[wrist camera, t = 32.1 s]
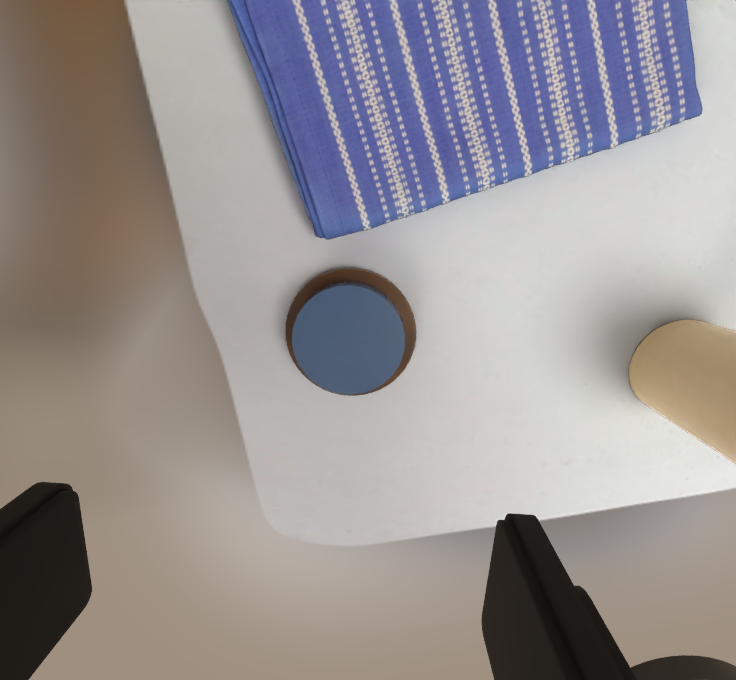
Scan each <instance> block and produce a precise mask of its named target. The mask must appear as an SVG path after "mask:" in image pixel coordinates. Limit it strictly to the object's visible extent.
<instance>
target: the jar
mask: <svg viewBox="0 0 736 680" xmlns="http://www.w3.org/2000/svg"><path fill="white" fill-rule="evenodd" d="M629 379H630V384H631V387H632V389H633V392H634V393H635V395H636V396H637V398H638V399H639V400H640V401H641V402H642V403H644V404H645V405H646V406H648V407H649V408H651V409H652V410H654V411H656V412H657V413H659V414H660V415H662V416H663V417H665V418H666V419H668V420H669V421H671V422H672V423H674V424H675V425H677V426H678V427H680V428H681V429H683V430H684V431H686V432H687V433H689V434H690V435H692V436H694V437H695V438H697V439H698V440H700V441H701V442H703V443H704V444H706V445H707V446H709V447H710V448H712V449H713V450H715V451H716V452H718V453H719V454H721V455H722V456H724V457H725V458H727V459H728V460H730V461H732V462H733V463H735V464H736V331H735V330H732V329H728V328H724V327H721V326H717V325H714V324H710V323H707V322H703V321H699V320H678V321H674V322H671V323H668V324H665V325H663V326H661V327H659V328H657V329H656V330H654V331H653V332H652V333H650V334H649V335H648V336H647V337H646V338H645V339H644V340H643V341H642V342H641V343H640V345H639V346H638V347H637V349H636V351H635V352H634V355H633V357H632V360H631V363H630V368H629Z"/></svg>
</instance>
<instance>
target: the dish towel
mask: <svg viewBox="0 0 736 680" xmlns="http://www.w3.org/2000/svg"><path fill="white" fill-rule="evenodd" d="M228 3H229V6H230V9H231V12H232V15H233V18H234V20H235V23H236V26H237V29H238V32H239V35H240V38H241V40H242V42H243V45H244V47H245V50H246V52H247V55H248V57H249V60H250V62H251V65H252V67H253V70H254V73H255V76H256V78H257V81H258V83H259V86H260V88H261V91H262V94H263V97H264V100H265V103H266V106H267V109H268V112H269V115H270V118H271V121H272V123H273V126H274V129H275V132H276V134H277V137H278V140H279V143H280V145H281V148H282V150H283V153H284V156H285V159H286V161H287V163H288V166H289V169H290V172H291V174H292V176H293V179H294V181H295V183H296V185H297V188H298V191H299V194H300V197H301V199H302V202H303V204H304V207H305V210H306V213H307V215H308V217H309V219H310V220H311V222H312V224H313V227H314V231H315V235H316V236H317V237H320V238H325V239H326V240H327V239H332V238H336V237H340V236H343V235H347V234H351V233H355V232H359V231H365V230H369V229H372V228H374V227H377V226H379V225H382V224H385V223H388V222H391V221H393V220H397V219H401V218H406V217H408V216H410V215H413V214H416V213H419V212H423V211H426V210H428V209H431V208H433V207H435V206H438V205H442V204H447V203H448V202H450V201H453V200H455V199H458V198H461V197H464V196H468V195H470V194H473V193H477V192H481V191H485V190H487V189H489V188H492V187H494V186H497V185H500V184H504V183H507V182H509V181H512V180H515V179H518V178H522V177H528V176H530V175H531V174H534V173H536V172H538V171H541V170H543V169H547V168H550V167H553V166H555V165H560V164H564V163H568V162H571V161H573V160H575V159H578V158H581V157H584V156H588V155H591V154H593V153H596V152H599V151H601V150H605V149H612V148H614V147H616V146H618V145H620V144H622V143H624V142H628V141H631V140H634V139H637V138H639V137H642V136H645V135H649V134H651V133H655V132H659V131H661V130H662V129H664V128H666V127H669V126H672V125H674V124H678V123H681V122H682V121H684V120H688V119H691V118H694V117H697V116H700V115H701V114H702V104H701V100H700V96H699V93H698V90H697V87H696V80H695V64H694V55H693V48H692V41H691V34H690V27H689V19H688V11H687V3H686V0H228Z"/></svg>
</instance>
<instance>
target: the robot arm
mask: <svg viewBox="0 0 736 680" xmlns="http://www.w3.org/2000/svg"><path fill="white" fill-rule="evenodd" d="M91 592H92V586H91V579H90V571H89V565H88V558H87V551H86V544H85V537H84V531H83V524H82V518H81V510H80V504H79V497H78V494H77V493H76V492H74V491H73V489H72V487H71V486H70V485H68V484H63V483H48V482H40V483H36V484H35V485H33V486H31V487H30V488H29V489H27V490H26V491H24V492H23V493H22V494H20V495H19V496H18V497H16V498H15V499H14V500H12V501H11V502H10V503H8V504H7V505H5V506H4V507H3V508H1V509H0V680H28V679H29V678H30V677H31V676H32V674H33V673H34V672H35V670H36V669H37V668H38V667H39V665H40V664H41V663H42V662H43V660H44V659H45V658H46V657H47V655H48V654H49V653H50V651H51V650H52V649H53V648H54V646H55V645H56V644H57V643H58V641H59V640H60V639H61V637H62V636H63V635H64V633H65V632H66V631H67V630H68V629H69V627H70V626H71V625H72V623H73V622H74V621H75V619H76V618H77V617H78V616H79V615H80V613H81V612H82V611H83V609H84V608H85V607H86V605H87V603H88V601H89V599H90V596H91ZM482 631H483V636H484V641H485V644H486V648H487V652H488V656H489V660H490V664H491V668H492V672H493V676H494V680H637V679H636V677H635V675H634V674H633V672H632V670H631V668H630V667H629V665H628V663H627V661H626V660H625V658H624V656H623V654H622V653H621V651H620V649H619V647H618V646H617V644H616V642H615V640H614V639H613V637H612V635H611V633H610V632H609V630H608V628H607V627H606V625H605V623H604V621H603V619H602V618H601V616H600V614H599V613H598V611H597V609H596V607H595V605H594V604H593V602H592V600H591V598H590V597H589V595H588V594H587V592H586V591H585V590H584V589H583V588H581V587H580V586H574V585H573V583H572V582H571V579H570V578H569V576H568V574H567V572H566V570H565V568H564V567H563V565H562V563H561V561H560V559H559V557H558V556H557V554H556V552H555V550H554V548H553V547H552V545H551V543H550V541H549V539H548V537H547V535H546V533H545V532H544V530H543V528H542V526H541V524H540V522H539V521H538V519H537V518H536V516H534V515H524V514H507V515H506V517H505V520H498V522H497V525H496V532H495V538H494V544H493V550H492V556H491V562H490V569H489V576H488V581H487V587H486V593H485V600H484V606H483V612H482Z"/></svg>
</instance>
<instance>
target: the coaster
mask: <svg viewBox="0 0 736 680" xmlns="http://www.w3.org/2000/svg"><path fill="white" fill-rule="evenodd" d="M345 281H347V282H358V283H359V282H361V283H363V284H367V285H369V286H372V287H375V288H376V289H377V290H379V291H381V292H382V293H383V294H385V295H387V297H388V298H389V299H390V300H391V301H392V303H393V304H394V305H396V306H397V310H398V312H399V315H400V317H401V318H402V319H403V328H404V331H405V335H406V338H405V348H404V349H405V351H404V354H403V357H402V360H401V362H400V365H399V367H398V368H397V370H396V371H395V373H394V374H393V375H392V376H391V377H390V378H389V379H388V380H387V381H386V382H385V383H384V384H382V385H381V386H379V387H377V388H375V389H374V390H371V391H368V392H365V393H361V394H353V395H364V394H368V393H372V392H375V391H377V390H380V389H382V388H383V387H385V386H387V385H388V384H390V383H391V382H393V381H394V380H395V379H396V378H397V377H398V376H399V375H400V374H401V373H402V372H403V370H404V369H405V368H406V366H407V364H408V363H409V361H410V359H411V356H412V354H413V350H414V347H415V341H416V326H415V320H414V316H413V313H412V310H411V308H410V305H409V303H408V302H407V300H406V298H405V297H404V295H403V294H402V293H401V291H400V290H399V289H398V288H397V287H396V286H395V285H394V284H393V283H391V282H390V281H389V280H387V279H386V278H384V277H382V276H381V275H379V274H376V273H374V272H371V271H368V270H364V269H357V268H343V269H336V270H333V271H329V272H326V273H324V274H322V275H320V276H318V277H316V278H315V279H313V280H312V281H311V282H309V283H308V284H307V285H306V286H305V287H304V288H303V289H302V290H301V291H300V292H299V293H298V295H297V296H296V297H295V299H294V301H293V303H292V305H291V307H290V309H289V312H288V316H287V320H286V330H285V331H286V341H287V346H288V350H289V353H290V355H291V357H292V359H293V361H294V363H295V365H296V366H297V368H298V369H299V370H300V371H301V373H302V374H303V375H304V376H305V377H306V378H307V379H308V380H310V381H311V382H312V383H314V382H313V381H312V380H311V379H309V378H308V377H307V376H306V374H305V373H304V372H303V371H302V369H301V368H300V366H299V364H298V362H297V360H296V358H295V355H294V351H293V346H292V332H293V327H294V323H295V320H296V318H297V314H298V313H299V312H300V310H301V309H302V307H303V306H304V305H305V304H304V303H305V302H306V301H307V300H308V299H309V300H310V299H311V298H312V297H313V296H314V295H315V293H316V292H317V291H318V290H322V289H324V288H325V287H328V286H329V285H330V284H336V283H341V282H345ZM314 384H315V383H314ZM315 385H317V384H315ZM317 386H318V385H317ZM318 387H320V386H318ZM320 388H322V387H320ZM322 389H324V388H322ZM324 390H326V389H324ZM327 391H328V390H327ZM329 392H331V391H329ZM332 393H334V392H332ZM336 394H338V393H336ZM340 395H346V394H340Z"/></svg>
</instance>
